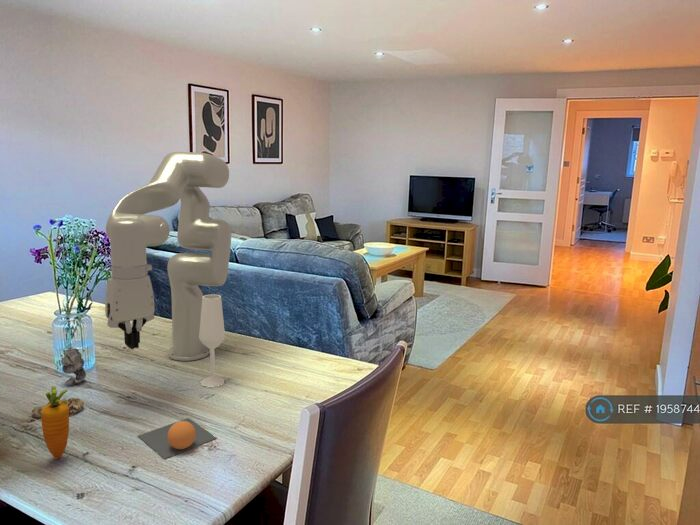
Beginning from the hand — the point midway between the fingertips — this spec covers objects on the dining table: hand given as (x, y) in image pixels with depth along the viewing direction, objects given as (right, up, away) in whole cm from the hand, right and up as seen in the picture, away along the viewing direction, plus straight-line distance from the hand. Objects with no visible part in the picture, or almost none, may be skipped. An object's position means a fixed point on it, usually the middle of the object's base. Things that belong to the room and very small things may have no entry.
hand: (132, 346), depth 123 cm
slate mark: (+15, -18, -12) cm, 26 cm away
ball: (+17, -16, -16) cm, 28 cm away
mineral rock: (-16, -15, -2) cm, 22 cm away
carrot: (-6, -19, -21) cm, 29 cm away
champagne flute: (+15, -13, +17) cm, 26 cm away
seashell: (-21, -12, +13) cm, 27 cm away
